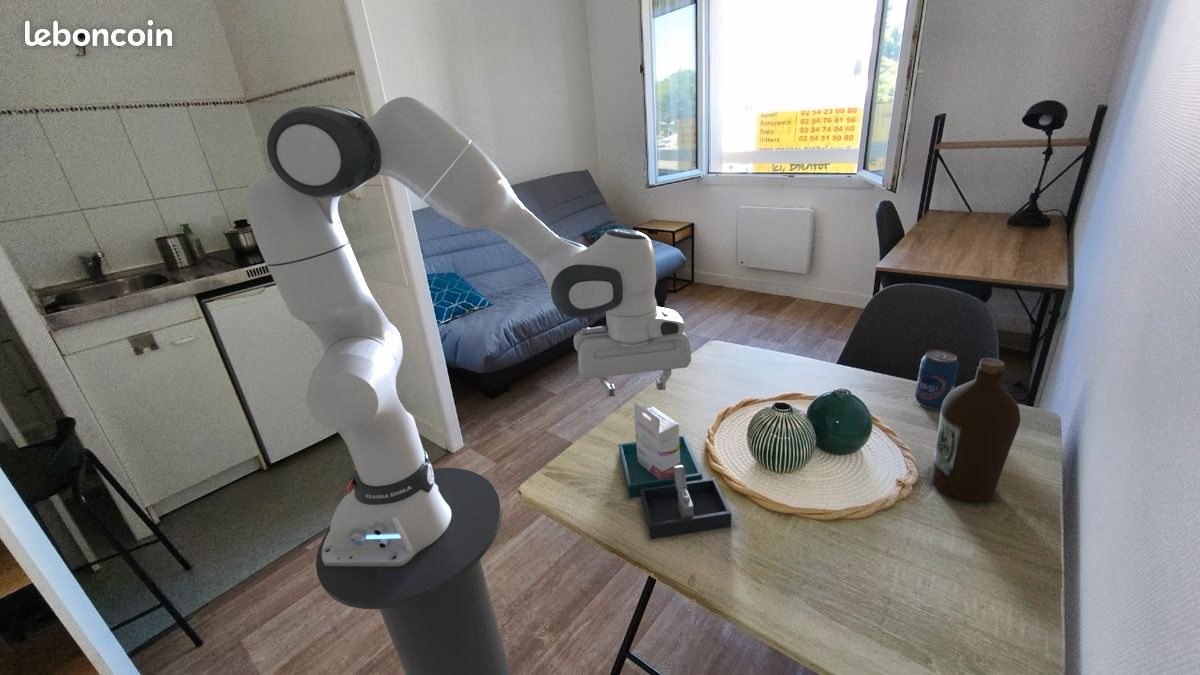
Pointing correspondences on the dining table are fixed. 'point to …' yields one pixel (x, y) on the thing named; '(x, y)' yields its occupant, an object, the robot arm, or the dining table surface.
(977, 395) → the brown bottle
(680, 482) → the lighter
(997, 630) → the dining table surface
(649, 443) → the ink cartridge box
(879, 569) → the dining table surface
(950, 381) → the soda can
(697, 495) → the front tray
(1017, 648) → the dining table surface
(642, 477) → the back tray
